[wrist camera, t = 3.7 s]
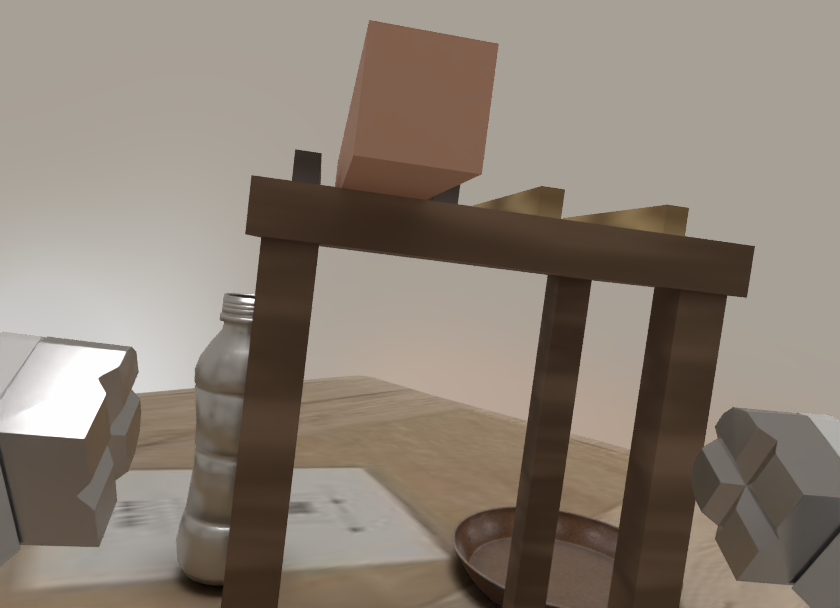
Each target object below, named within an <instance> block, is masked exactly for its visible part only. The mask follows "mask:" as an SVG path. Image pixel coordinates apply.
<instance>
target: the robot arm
mask: <svg viewBox="0 0 840 608" xmlns="http://www.w3.org/2000/svg"><path fill="white" fill-rule="evenodd" d="M137 374H138V363H137V354H136V351H135V350H134V349H133V348H132V347H128V346H120V345H111V344H103V343H94V342H86V341H79V340H69V339H62V338H54V337H47V338H45V337H40V336H31V335H23V334H15V333H7V332H2V333H0V567H1V566H2V565H3V564H4V563H5V562H6V561H8V560H9V559H10V558H11V557H12V556H13V555H15V554H16V553H17V552H18V551H19V550H20V545H41V546H79V547H99V546H100V543H101V541H102V538H103V535H104V533H105V530H106V528H107V525H108V523H109V520H110V517H111V515H112V512H113V510H114V507H115V505H116V502H117V494H116V483H115V480H117V479H118V478H120V477H121V476H122V475H124V474H125V473H126V472H128V471H129V468H130V465H131V462H132V459H133V457H134V454H135V450H136V445H137V441H138V436H139V431H140V419H141V405H140V398H139V397H138V396H137V395H136V394H135V393H134V392H133V391H132V390H131V389H132V386H133V384H134V382H135V379H136V377H137ZM715 429H716V433H717V437H718V438H717V439H716V440H714V441H713V442H711V443H709V444H708V445H706V446H704V447H703V448H702V449H701V450H700V452H699V454H698V456H697V458H696V460H695V461H694V463H693V468H692V480H691V484H692V488H693V493H694V497H695V499H696V501H697V504H698V506H699V508H700V510H701V512H702V513H703V514H705V515H706V516H707V517H708V518H709V519H710V520H712V521H713V522H714V523H715V524H716V525H718V528H717V532H716V537H715V540H716V542H717V543H718V545H719V547H720V549H721V551H722V553H723V555H724V557H725V559H726V561H727V563H728V565H729V567H730V569H731V571H732V573H733V575H734V577H735V579H736V581H746V582H758V583H770V584H782V585H794V586H793V587H792V589H793V590H794V591H795V592H796V593H797V594H798V595H799V596H800V597H801V598H802V599H803V600H804V601H805V602H806V603H807V604H808V605H809V606H810V607H811V608H840V421H839V420H837V419H835V418H834V417H832V416H830V415H822V414H809V413H789V412H777V411H767V410H755V409H746V408H734V407H733V408H732V409H730V410H728V411H727V412H725V413H724V414H723V415H722V416H721V418H720V419H719V421H718V423H717V425H716V426H715Z"/></svg>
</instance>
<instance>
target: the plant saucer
mask: <svg viewBox="0 0 840 608" xmlns="http://www.w3.org/2000/svg"><path fill="white" fill-rule="evenodd" d="M515 510H516V507H499V508H492V509H487V510H483V511H479V512H476V513H473V514H471V515H469V516H467V517H465V518H464V519H462V520H461V521H460V522H459V523H458V524H457V525H456V526H455V528H454V530H453V533H452V542H453V546H454V548H455V551H456V553H457V555H458V557H459V559H460V561H461V563H462V565H463V566H464V568H465V570H466V571H467V573H468V575H469V576H470V577H471V579H472V580H473V582H474V583H475V584H476V586H477V587H478V588H479V589H480V590H481V591H482V592H483V593H484V594H485V595H486V596H487V597H488V598H489V599H491V600H492V601H493V602H494V603H496V604H498V605H499V606H501V607H502V605H503V598H504V591H505V583H506V576H507V569H508V561H509V554H510V547H511V540H512V532H513V525H514V518H515ZM618 532H619V528H618V527H616V526H613V525H611V524H609V523H606V522H603V521H600V520H597V519H593V518H590V517H586V516H582V515H578V514H574V513H569V512H564V511H559V515H558V522H557V529H556V536H555V543H554V550H553V557H552V564H551V571H550V578H549V585H548V593H547V600H546V607H545V608H607V606H608V599H609V592H610V586H611V579H612V572H613V565H614V559H615V552H616V545H617V538H618ZM682 589H683V584H682ZM681 592H682V590H681Z"/></svg>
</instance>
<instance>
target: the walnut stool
mask: <svg viewBox="0 0 840 608" xmlns="http://www.w3.org/2000/svg"><path fill="white" fill-rule="evenodd" d="M320 181H321V153H316V152H309V151H302V150H295V158H294V167H293V177H292V181H288V180H281V179H274V178H267V177H260V176H253V175H252V177H251V186H250V195H249V204H248V214H247V223H246V232H245V234H247V235H252V236H257V237H261V246H260V255H259V264H258V273H257V283H256V291H255V301H254V310H253V319H252V328H251V337H250V346H249V356H248V365H247V374H246V383H245V392H244V401H243V411H242V420H241V429H240V438H239V447H238V457H237V466H236V475H235V484H234V493H233V502H232V512H231V521H230V530H229V539H228V548H227V557H226V567H225V576H224V585H223V594H222V603H221V608H277V606H278V598H279V589H280V580H281V571H282V563H283V554H284V545H285V536H286V528H287V519H288V510H289V502H290V493H291V484H292V475H293V467H294V458H295V449H296V441H297V432H298V423H299V414H300V406H301V397H302V388H303V379H304V370H305V362H306V352H307V344H308V335H309V327H310V318H311V310H312V301H313V292H314V283H315V275H316V266H317V257H318V248H319V246H323V247H332V248H339V249H348V250H355V251H363V252H371V253H379V254H387V255H394V256H402V257H410V258H419V259H427V260H434V261H442V262H450V263H458V264H466V265H474V266H482V267H490V268H498V269H506V270H513V271H521V272H529V273H537V274H545V275H548V277H547V285H546V292H545V300H544V306H543V314H542V321H541V328H540V335H539V343H538V350H537V357H536V365H535V372H534V380H533V386H532V394H531V401H530V408H529V416H528V423H527V430H526V437H525V445H524V452H523V459H522V467H521V474H520V481H519V488H518V496H517V503H516V510H515V518H514V525H513V532H512V540H511V547H510V554H509V561H508V569H507V576H506V583H505V591H504V598H503V605H502V608H545V607H546V600H547V593H548V585H549V578H550V571H551V564H552V557H553V550H554V543H555V536H556V529H557V522H558V515H559V508H560V501H561V494H562V487H563V479H564V472H565V465H566V458H567V451H568V444H569V437H570V430H571V423H572V416H573V408H574V402H575V394H576V387H577V381H578V373H579V366H580V359H581V352H582V344H583V338H584V330H585V324H586V317H587V310H588V303H589V296H590V288H591V282H592V280H594V281H603V282H612V283H621V284H630V285H639V286H648V287H655V288H654V294H653V301H652V308H651V315H650V322H649V329H648V335H647V342H646V349H645V355H644V363H643V369H642V376H641V384H640V390H639V396H638V403H637V410H636V417H635V423H634V430H633V437H632V443H631V450H630V457H629V464H628V471H627V477H626V484H625V491H624V498H623V504H622V511H621V518H620V525H619V532H618V538H617V545H616V552H615V559H614V565H613V572H612V579H611V586H610V592H609V599H608V606H607V608H679V603H680V597H681V590H682V584H683V577H684V571H685V564H686V558H687V551H688V545H689V538H690V532H691V526H692V519H693V513H694V506H695V500H696V499H695V497H694V493H693V488H692V484H691V480H692V468H693V463H694V461H695V460H696V458H697V456H698V454H699V452H700V450H701V449H702V448H703V447H704V442H705V435H706V429H707V422H708V416H709V409H710V403H711V396H712V389H713V383H714V377H715V371H716V364H717V358H718V350H719V345H720V338H721V332H722V325H723V318H724V312H725V306H726V299H727V295H728V296H737V297H747V293H748V286H749V280H750V273H751V267H752V261H753V254H754V248H755V246H749V245H742V244H735V243H728V242H721V241H713V240H707V239H700V238H693V237H686V236H685V231H686V224H687V217H688V211H689V208H685V207H678V206H672V205H662V206H654V207H647V208H639V209H632V210H623V211H616V212H608V213H600V214H593V215H584V216H576V217H569V218H563V219H561V214H562V207H563V199H564V192H565V190H564V189H558V188H551V187H544V186H541V187H537V188H534V189H530V190H527V191H523V192H520V193H516V194H513V195H509V196H506V197H502V198H499V199H495V200H491V201H488V202H484V203H481V204H477V205H474V207H473V206H465V205H458V197H459V189H460V184H459V185H457V186H455V187H453V188H451V189H449V190H446V191H444V192H442V193H440V194H438V195H436V196H433V197H431V198H429V199H427V200H423V199H416V198H409V197H402V196H395V195H388V194H381V193H373V192H366V191H359V190H352V189H345V188H338V187H331V186H324V185H320V184H321V183H320Z"/></svg>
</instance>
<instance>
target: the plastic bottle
mask: <svg viewBox="0 0 840 608" xmlns="http://www.w3.org/2000/svg"><path fill="white" fill-rule="evenodd" d="M254 301H255V295H251V294H239V293H225V295H224V299H223V308H222V313H221V314H220V320H221V321H224V325H223V329H222V330H221V331H220V332H219V334H218V335H217V336H216V337H215V338H214V339H213V340H212V341H211V342H210V344H209V345H208V346H207V348H206V349H205V350H204V352H203V353H202V354H201V356H200V358H199V360H198V363H197V365H196V368H195V383H196V385H195V402H196V437H195V444H196V448H195V456H194V466H193V472H192V477H191V482H190V487H189V493H188V498H187V503H186V508H185V510H184V513H183V516H182V519H181V522H180V526H179V530H178V534H177V538H176V543H177V557H178V563H179V565H180V567H181V568H182V570H183V572H184V573H185V575H186V576H187V577H188V578H190V579H192V580H193V581H196V582H198V583H202V584H206V585H215V586H223V585H224V576H225V567H226V557H227V548H228V539H229V530H230V521H231V512H232V502H233V493H234V484H235V475H236V466H237V457H238V447H239V438H240V429H241V420H242V411H243V401H244V392H245V383H246V374H247V365H248V356H249V346H250V337H251V328H252V319H253V310H254Z"/></svg>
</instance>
